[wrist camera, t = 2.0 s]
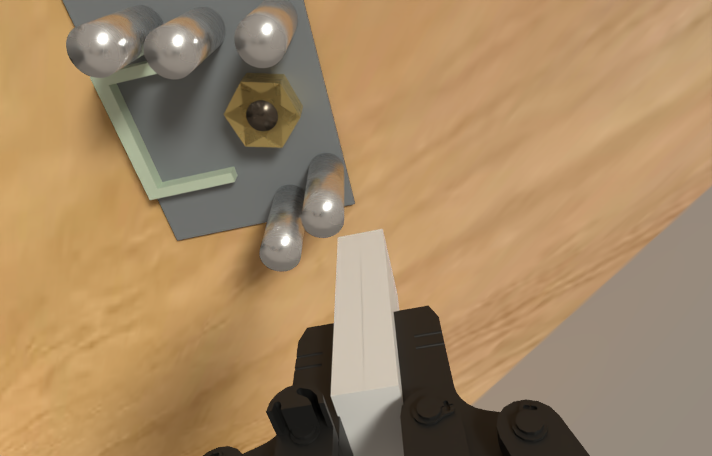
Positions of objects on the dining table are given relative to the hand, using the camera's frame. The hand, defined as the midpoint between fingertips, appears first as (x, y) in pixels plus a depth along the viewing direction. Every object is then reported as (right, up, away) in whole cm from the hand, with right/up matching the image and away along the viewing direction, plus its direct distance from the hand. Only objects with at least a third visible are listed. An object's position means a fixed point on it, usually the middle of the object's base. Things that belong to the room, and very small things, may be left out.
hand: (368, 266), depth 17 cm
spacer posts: (-9, +10, +21) cm, 24 cm away
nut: (-7, +10, +20) cm, 24 cm away
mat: (-10, +10, +21) cm, 25 cm away
